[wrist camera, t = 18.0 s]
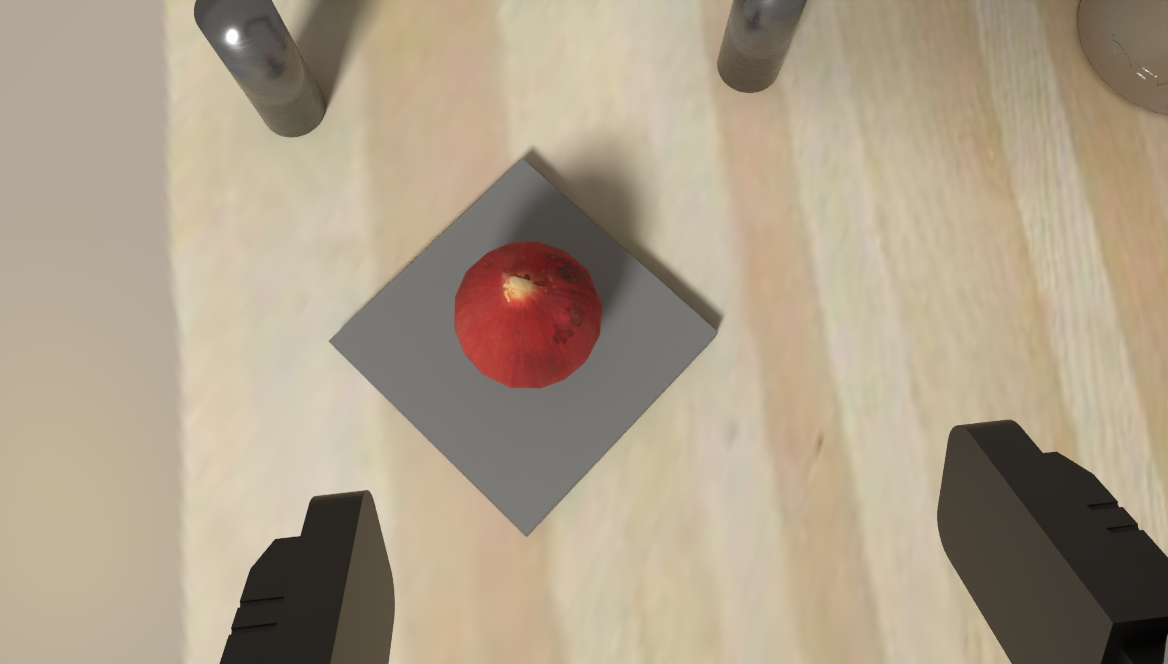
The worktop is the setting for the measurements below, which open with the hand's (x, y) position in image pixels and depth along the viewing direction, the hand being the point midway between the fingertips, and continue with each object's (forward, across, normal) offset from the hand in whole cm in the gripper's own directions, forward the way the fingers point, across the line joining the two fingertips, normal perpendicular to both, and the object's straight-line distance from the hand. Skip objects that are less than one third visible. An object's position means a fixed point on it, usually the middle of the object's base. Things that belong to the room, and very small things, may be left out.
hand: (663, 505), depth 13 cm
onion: (+25, +2, +12) cm, 28 cm away
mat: (+26, +3, +12) cm, 28 cm away
